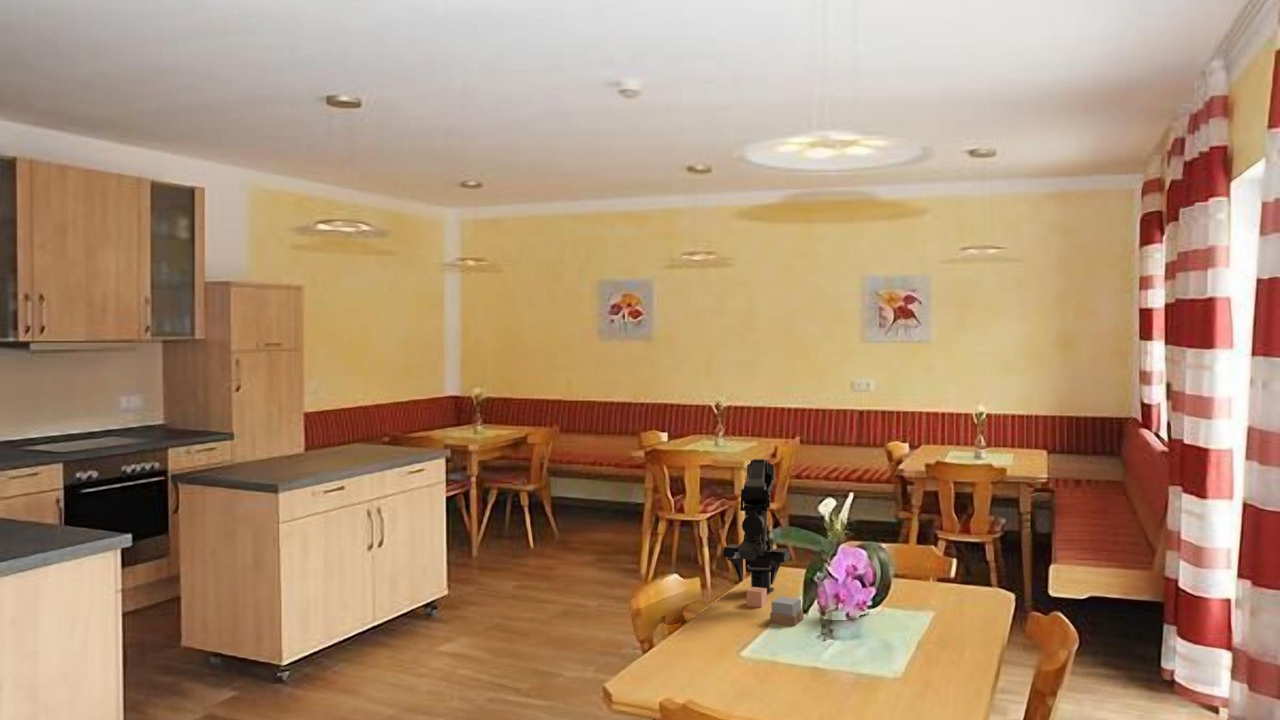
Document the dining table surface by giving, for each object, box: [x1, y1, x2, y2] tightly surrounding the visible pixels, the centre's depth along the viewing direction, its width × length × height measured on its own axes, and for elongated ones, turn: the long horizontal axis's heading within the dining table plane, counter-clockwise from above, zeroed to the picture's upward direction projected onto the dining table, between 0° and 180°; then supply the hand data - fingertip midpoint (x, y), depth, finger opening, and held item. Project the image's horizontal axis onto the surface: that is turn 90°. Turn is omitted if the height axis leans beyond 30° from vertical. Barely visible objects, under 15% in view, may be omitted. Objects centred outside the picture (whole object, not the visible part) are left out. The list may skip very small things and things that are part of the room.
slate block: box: [771, 596, 802, 616], centre depth 265 cm, size 6×6×3 cm
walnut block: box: [769, 608, 805, 627], centre depth 265 cm, size 7×7×3 cm
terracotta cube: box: [746, 586, 768, 608], centre depth 281 cm, size 4×4×4 cm
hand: (756, 583), depth 281 cm, fingers open, 9 cm apart
